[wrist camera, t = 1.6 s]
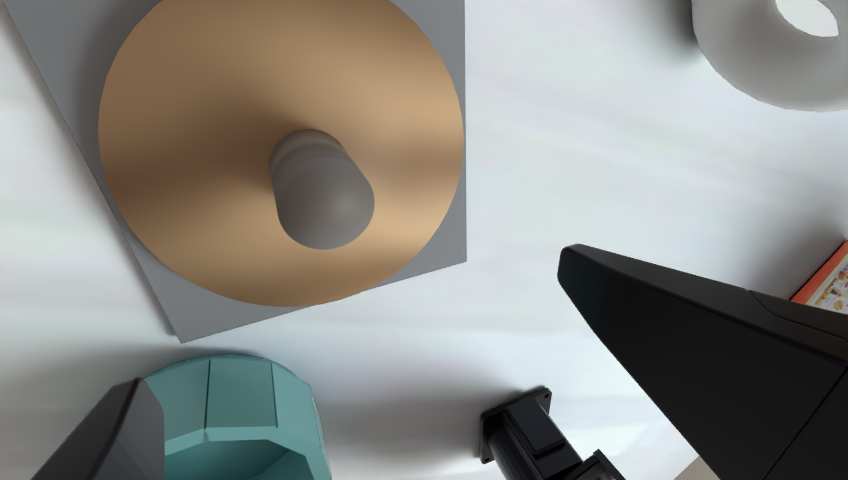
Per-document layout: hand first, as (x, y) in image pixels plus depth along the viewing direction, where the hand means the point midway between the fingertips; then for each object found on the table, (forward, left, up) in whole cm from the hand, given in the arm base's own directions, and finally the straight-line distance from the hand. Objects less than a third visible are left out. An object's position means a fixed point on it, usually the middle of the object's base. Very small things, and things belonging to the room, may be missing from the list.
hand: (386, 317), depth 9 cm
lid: (0, 0, -11) cm, 11 cm away
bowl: (-14, +8, -12) cm, 20 cm away
